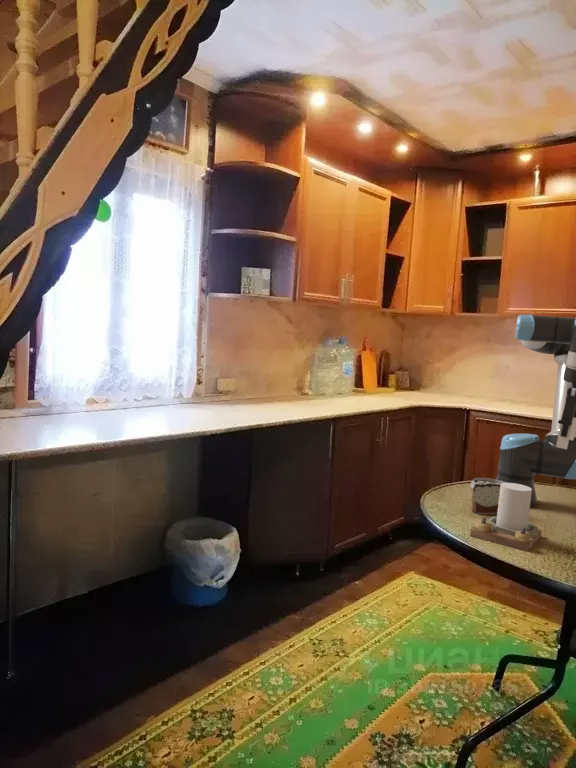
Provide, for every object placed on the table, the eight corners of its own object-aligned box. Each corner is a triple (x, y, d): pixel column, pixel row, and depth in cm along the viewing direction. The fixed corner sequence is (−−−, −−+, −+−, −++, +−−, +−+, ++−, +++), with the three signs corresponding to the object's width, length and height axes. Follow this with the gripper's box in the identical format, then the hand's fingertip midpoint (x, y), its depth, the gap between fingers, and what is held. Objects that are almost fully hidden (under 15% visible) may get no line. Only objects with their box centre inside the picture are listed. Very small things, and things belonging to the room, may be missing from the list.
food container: (493, 507, 190) (497, 477, 189) (505, 513, 184) (508, 482, 183) (460, 507, 187) (463, 477, 186) (470, 513, 181) (473, 482, 180)
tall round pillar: (501, 521, 168) (506, 481, 167) (530, 529, 163) (535, 487, 162) (491, 527, 162) (496, 485, 161) (521, 536, 157) (526, 492, 156)
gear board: (487, 522, 173) (489, 505, 172) (540, 536, 164) (543, 518, 164) (470, 535, 160) (472, 517, 159) (527, 551, 151) (529, 531, 151)
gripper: (591, 375, 146) (574, 455, 150) (600, 368, 167) (584, 438, 171) (559, 369, 150) (543, 448, 154) (571, 363, 171) (557, 432, 175)
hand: (564, 443), depth 162 cm, fingers open, 13 cm apart
